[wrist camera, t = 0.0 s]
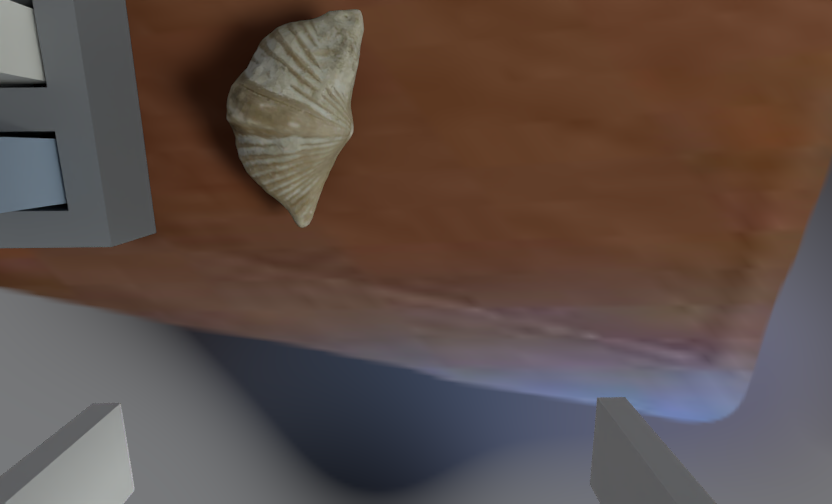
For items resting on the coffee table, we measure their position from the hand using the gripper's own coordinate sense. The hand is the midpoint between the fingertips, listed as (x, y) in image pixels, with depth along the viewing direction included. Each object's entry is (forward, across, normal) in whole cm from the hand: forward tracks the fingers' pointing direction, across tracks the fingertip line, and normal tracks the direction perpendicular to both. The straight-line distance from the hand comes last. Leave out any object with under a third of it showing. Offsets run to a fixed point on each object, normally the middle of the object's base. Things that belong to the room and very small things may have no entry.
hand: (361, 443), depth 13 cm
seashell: (+28, -7, +10) cm, 31 cm away
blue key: (+24, -26, +7) cm, 36 cm away
